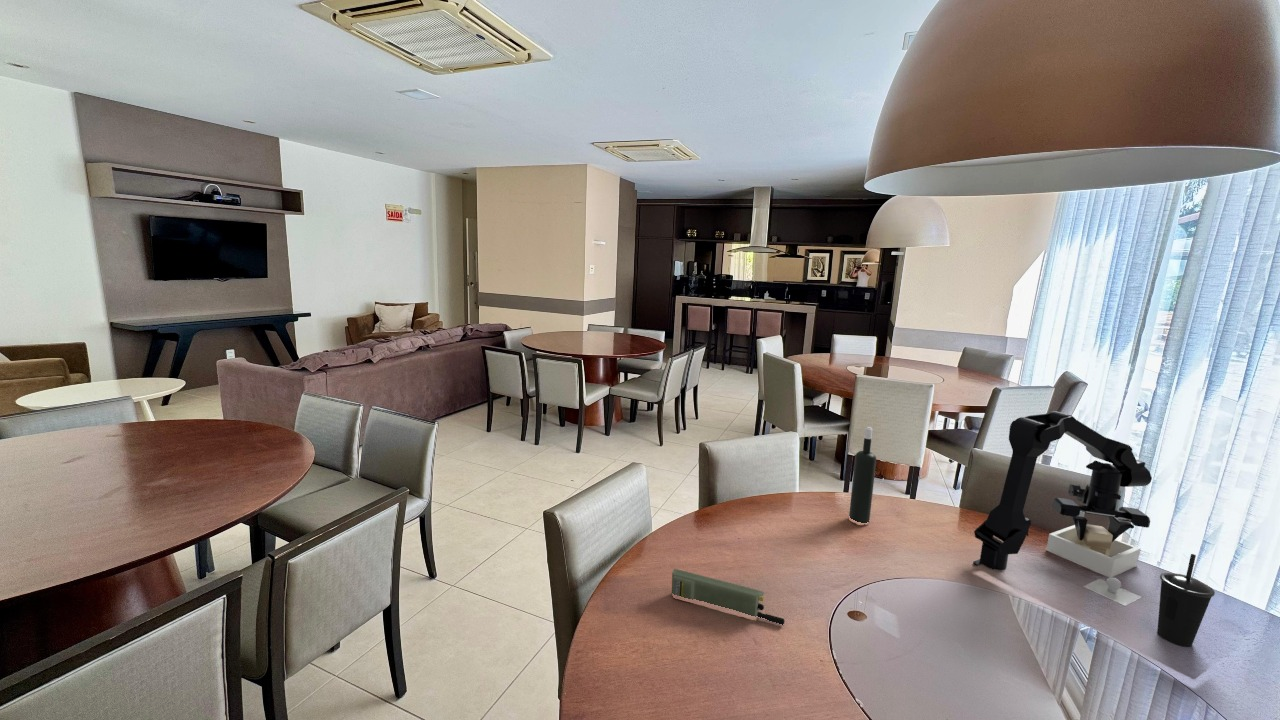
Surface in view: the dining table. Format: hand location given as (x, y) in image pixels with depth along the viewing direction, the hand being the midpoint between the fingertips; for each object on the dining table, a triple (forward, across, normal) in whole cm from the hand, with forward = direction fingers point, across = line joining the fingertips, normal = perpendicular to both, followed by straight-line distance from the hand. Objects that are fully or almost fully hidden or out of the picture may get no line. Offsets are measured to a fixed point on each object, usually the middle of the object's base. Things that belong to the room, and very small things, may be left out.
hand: (1093, 541), depth 135 cm
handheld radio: (+6, +88, +56) cm, 105 cm away
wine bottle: (+6, +57, -1) cm, 58 cm away
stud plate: (+6, +3, +17) cm, 18 cm away
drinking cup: (+6, -1, +32) cm, 33 cm away
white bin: (+6, 0, 0) cm, 6 cm away
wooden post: (+4, 0, 0) cm, 4 cm away
